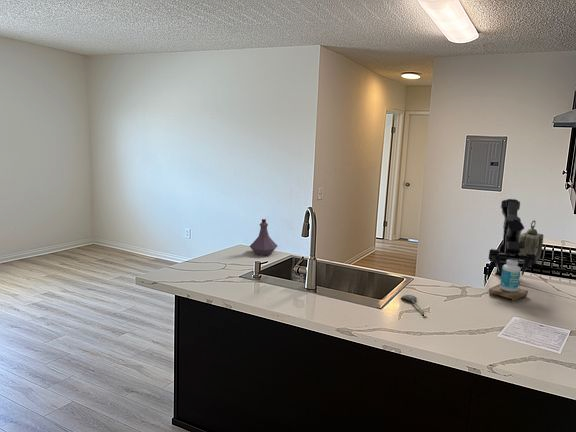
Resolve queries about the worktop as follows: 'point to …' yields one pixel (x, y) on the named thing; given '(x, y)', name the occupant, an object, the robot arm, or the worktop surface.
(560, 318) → the worktop surface
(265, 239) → the flask
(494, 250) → the robot arm
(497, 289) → the small wooden pallet
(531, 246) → the tabletop clock
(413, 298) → the soupspoon
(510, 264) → the pill bottle
